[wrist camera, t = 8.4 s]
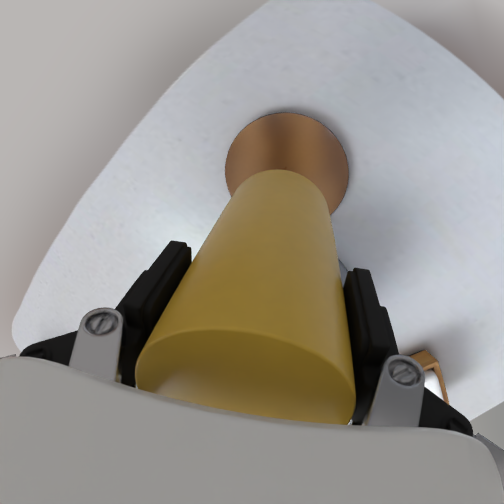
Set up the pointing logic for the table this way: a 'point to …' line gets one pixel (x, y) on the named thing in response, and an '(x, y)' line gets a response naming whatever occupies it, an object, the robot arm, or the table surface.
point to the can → (260, 312)
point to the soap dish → (432, 374)
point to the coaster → (290, 154)
